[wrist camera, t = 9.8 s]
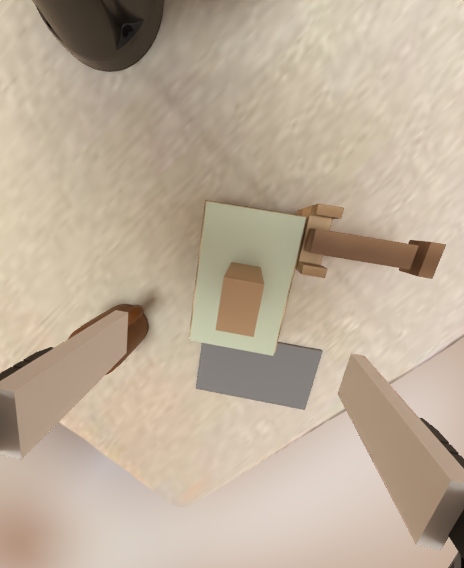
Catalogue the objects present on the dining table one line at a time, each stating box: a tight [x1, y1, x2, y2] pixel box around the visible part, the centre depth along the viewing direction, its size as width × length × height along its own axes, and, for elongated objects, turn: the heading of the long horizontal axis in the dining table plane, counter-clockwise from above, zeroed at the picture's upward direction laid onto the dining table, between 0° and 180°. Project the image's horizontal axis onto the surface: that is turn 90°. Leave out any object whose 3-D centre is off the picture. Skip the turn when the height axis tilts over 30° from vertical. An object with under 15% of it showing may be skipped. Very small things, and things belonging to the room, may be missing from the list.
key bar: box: [305, 229, 446, 279], centre depth 24 cm, size 3×12×3 cm, turn 81°
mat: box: [196, 342, 322, 410], centre depth 39 cm, size 12×20×1 cm, turn 81°
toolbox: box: [189, 200, 344, 353], centre depth 30 cm, size 19×14×10 cm
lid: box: [190, 201, 306, 356], centre depth 25 cm, size 18×11×10 cm, turn 171°
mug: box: [69, 305, 148, 375], centre depth 34 cm, size 12×8×9 cm, turn 133°
